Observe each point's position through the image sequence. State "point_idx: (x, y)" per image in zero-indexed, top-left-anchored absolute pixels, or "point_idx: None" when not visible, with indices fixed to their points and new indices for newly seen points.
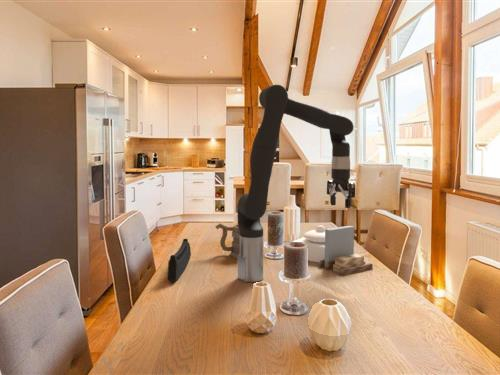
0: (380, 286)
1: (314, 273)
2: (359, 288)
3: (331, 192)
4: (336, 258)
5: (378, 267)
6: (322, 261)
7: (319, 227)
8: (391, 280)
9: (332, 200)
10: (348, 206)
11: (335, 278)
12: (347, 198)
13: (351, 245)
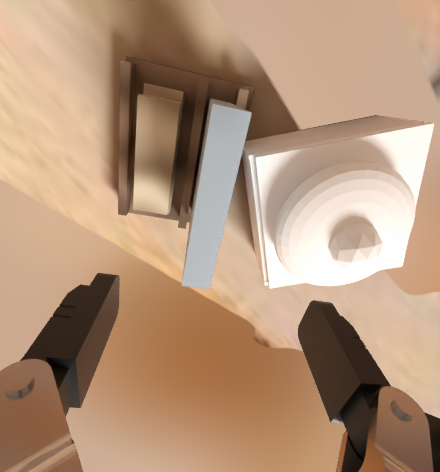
0: (7, 102)
1: (235, 41)
2: (19, 19)
3: (412, 460)
4: (172, 102)
5: (145, 248)
6: (237, 96)
7: (362, 240)
8: (40, 179)
9: (331, 344)
10: (75, 293)
11: (148, 53)
12: (4, 370)
13: (189, 228)
